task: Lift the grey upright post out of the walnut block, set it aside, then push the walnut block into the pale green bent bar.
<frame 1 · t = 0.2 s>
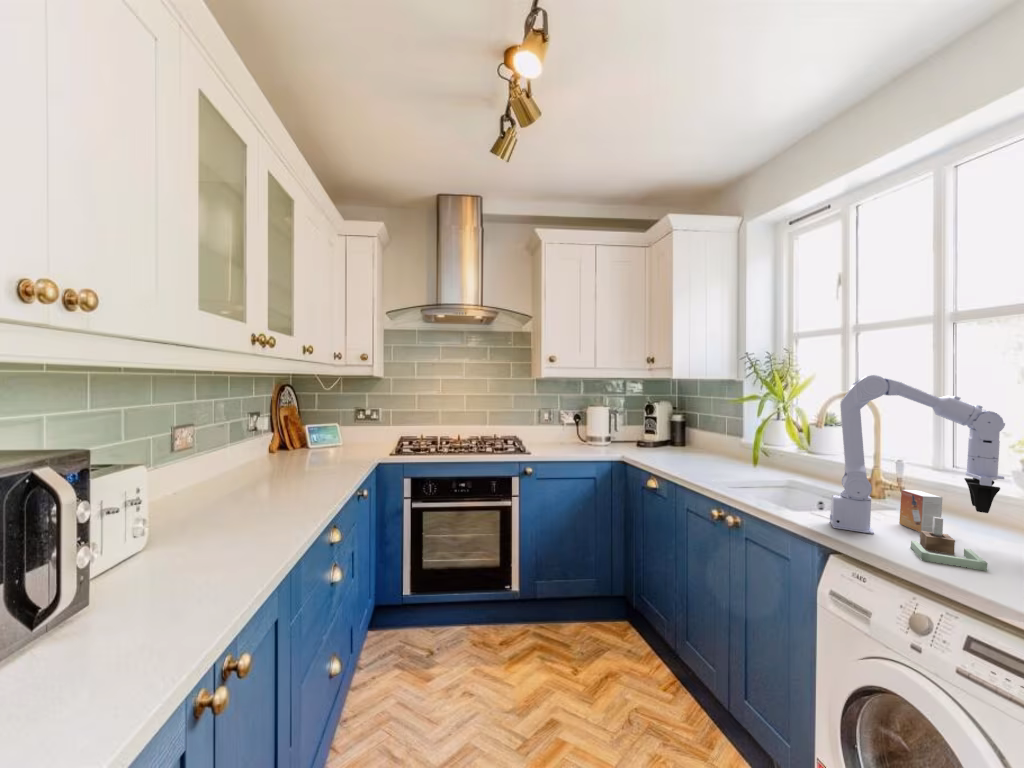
hand: (980, 509, 123), 10 cm above the countertop, tool pointing down, fingers open, 7 cm apart
grey upright post: (936, 549, 121), resting in walnut block
small box: (919, 529, 138), on the countertop
walnut block: (936, 548, 121), on the countertop
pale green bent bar: (945, 557, 115), on the countertop
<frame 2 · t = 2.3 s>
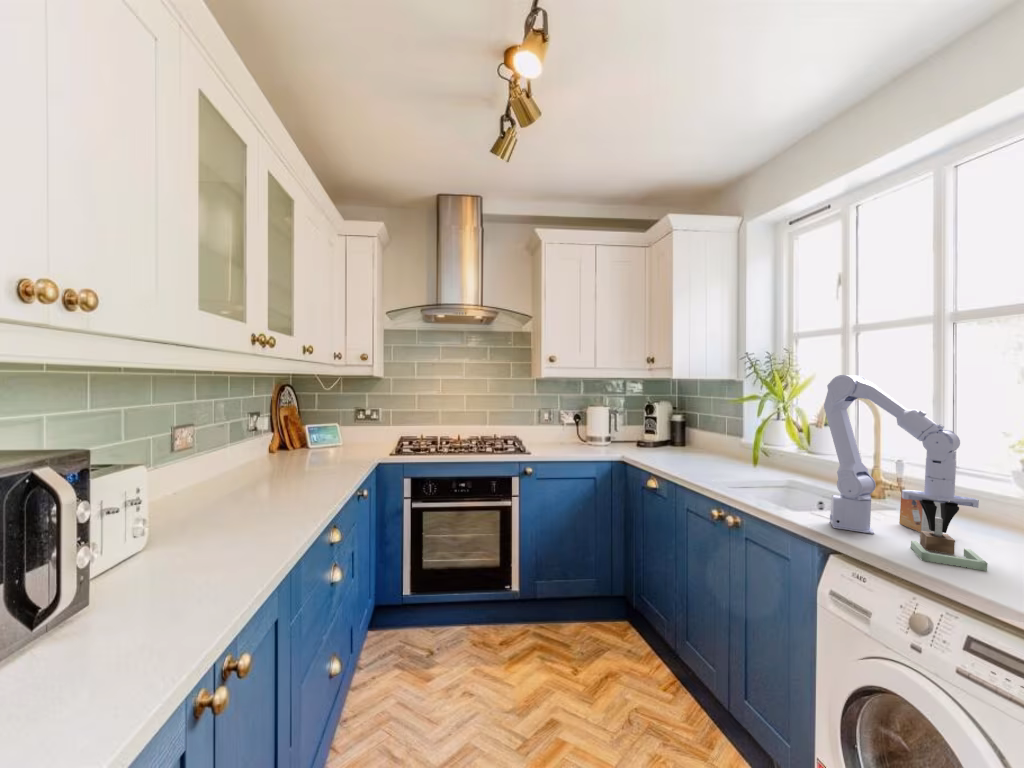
hand: (937, 530, 121), 5 cm above the countertop, tool pointing down, fingers closed on grey upright post, 2 cm apart
grey upright post: (936, 549, 121), resting in walnut block, touching gripper
everything else where it was.
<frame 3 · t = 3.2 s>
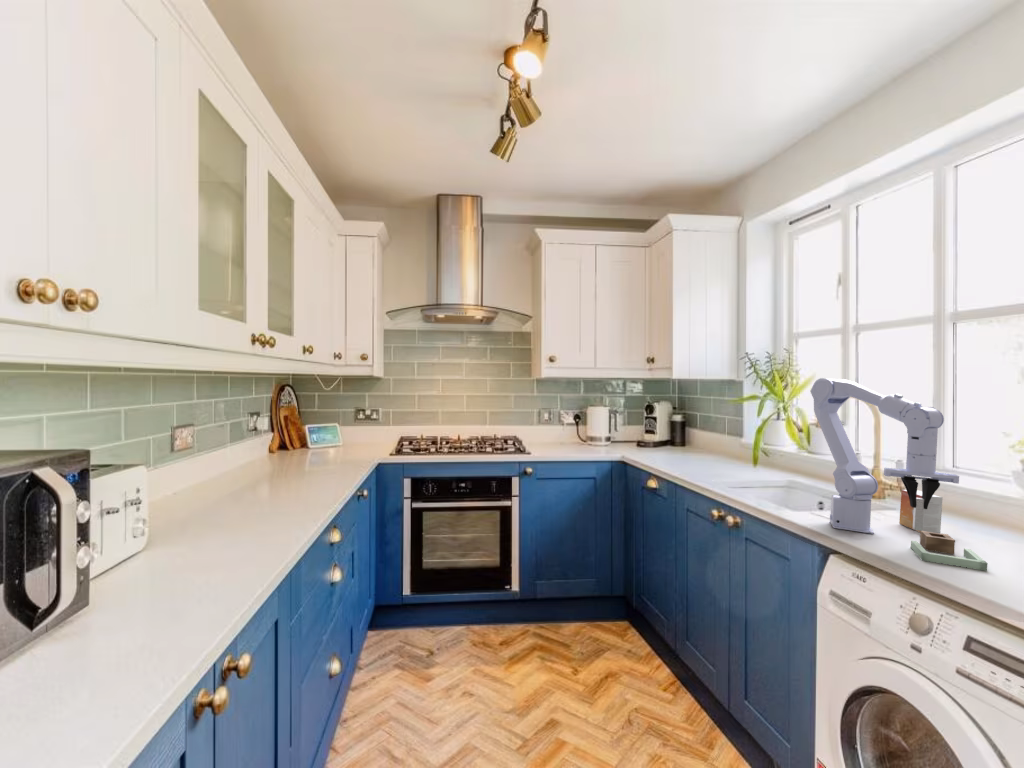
hand: (918, 507, 122), 10 cm above the countertop, tool pointing down, fingers closed on grey upright post
grey upright post: (917, 529, 122), point 5 cm above the countertop, touching gripper
everything else where it was.
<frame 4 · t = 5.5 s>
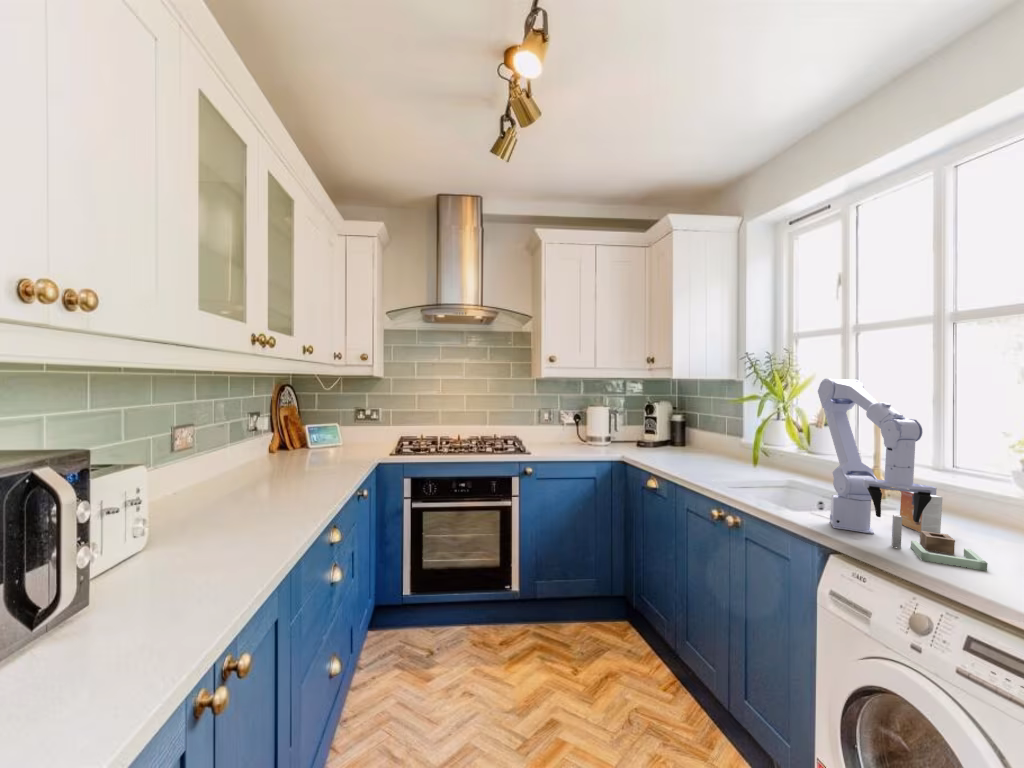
hand: (896, 518, 122), 7 cm above the countertop, tool pointing down, fingers open, 7 cm apart
grey upright post: (896, 546, 122), on the countertop
everything else where it was.
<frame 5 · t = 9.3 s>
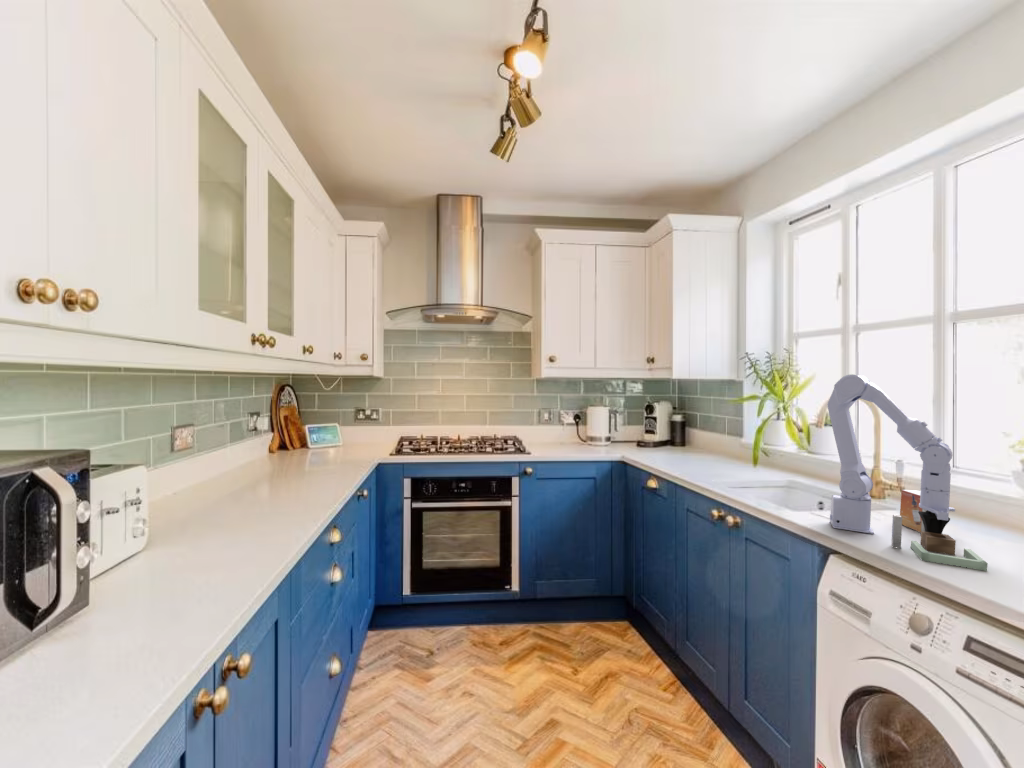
hand: (932, 541, 124), 1 cm above the countertop, tool pointing down, fingers closed
walnut block: (937, 549, 121), on the countertop, touching gripper
everything else where it was.
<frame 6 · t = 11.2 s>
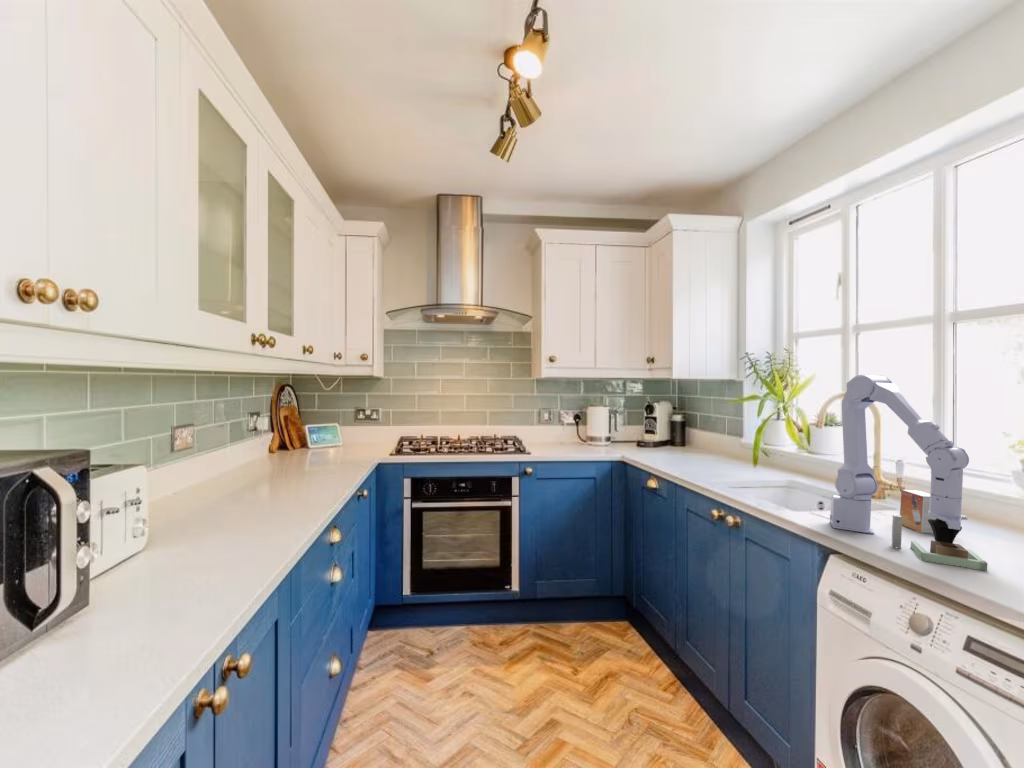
hand: (943, 550, 117), 1 cm above the countertop, tool pointing down, fingers closed
walnut block: (948, 560, 114), resting in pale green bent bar, touching gripper
everything else where it was.
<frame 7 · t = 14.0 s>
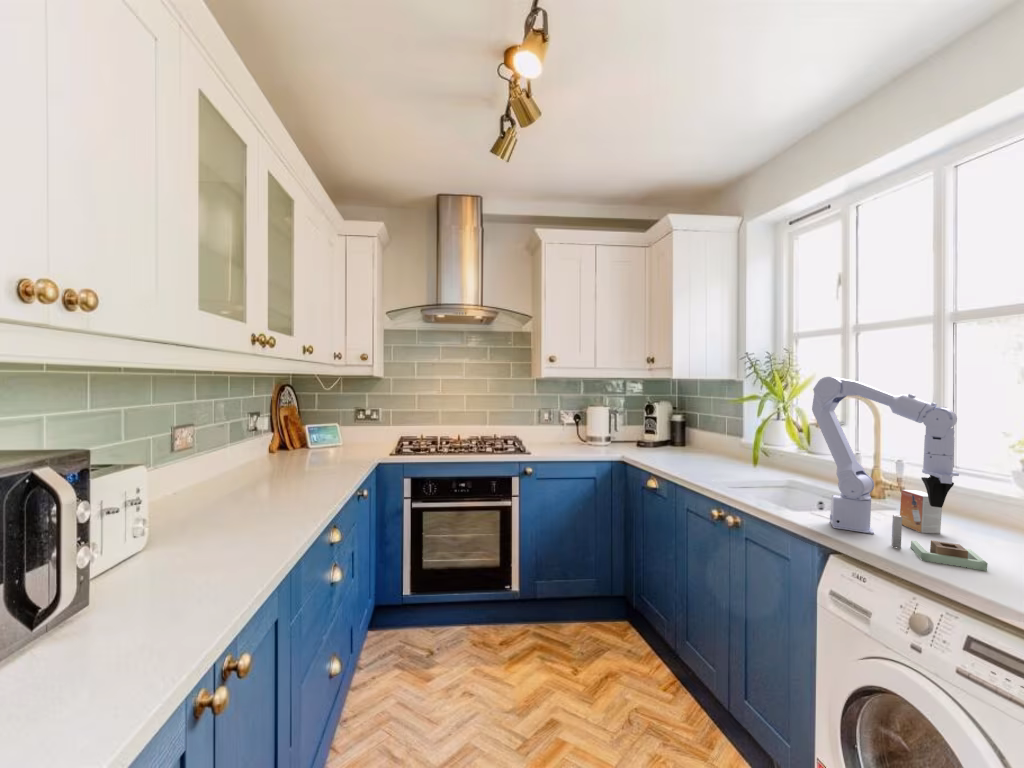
hand: (936, 506, 123), 10 cm above the countertop, tool pointing down, fingers closed
walnut block: (948, 560, 114), resting in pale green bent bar
everything else where it was.
at the end: walnut block 0.3 cm from the target spot on the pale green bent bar, point 0.0 cm above the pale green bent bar's base; grey upright post 10.1 cm from the walnut block (horizontally); grey upright post moved 9.9 cm from its start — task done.
